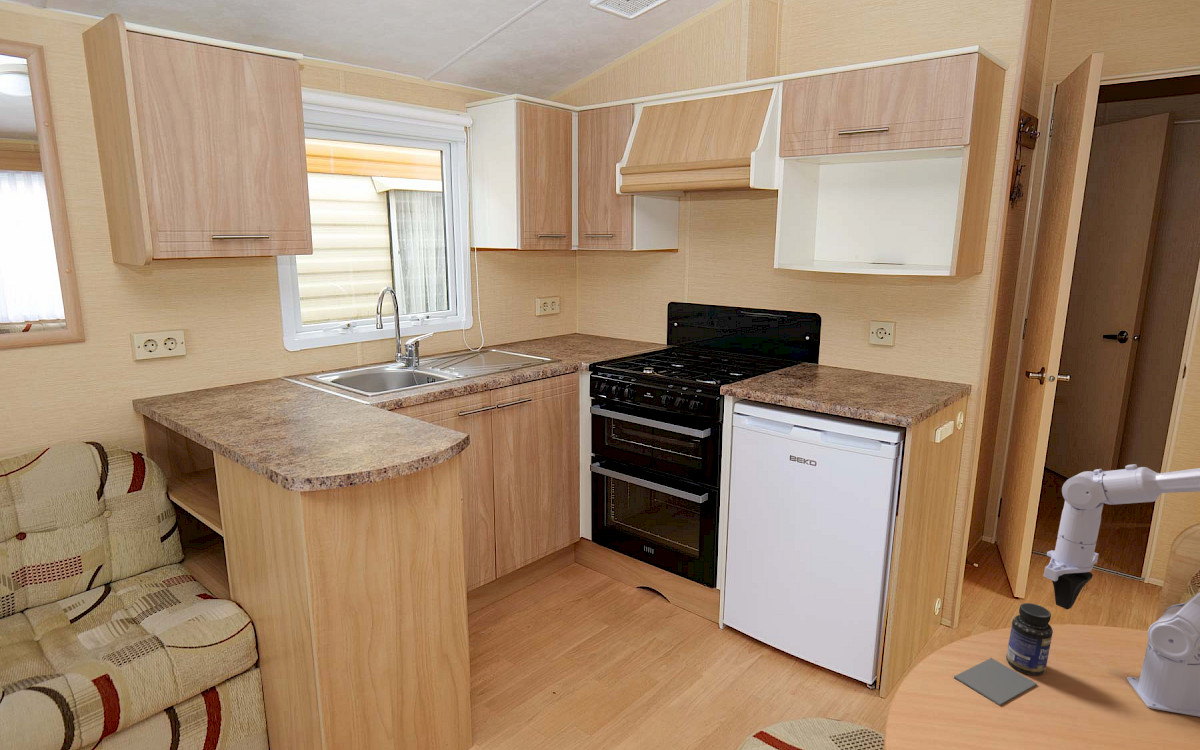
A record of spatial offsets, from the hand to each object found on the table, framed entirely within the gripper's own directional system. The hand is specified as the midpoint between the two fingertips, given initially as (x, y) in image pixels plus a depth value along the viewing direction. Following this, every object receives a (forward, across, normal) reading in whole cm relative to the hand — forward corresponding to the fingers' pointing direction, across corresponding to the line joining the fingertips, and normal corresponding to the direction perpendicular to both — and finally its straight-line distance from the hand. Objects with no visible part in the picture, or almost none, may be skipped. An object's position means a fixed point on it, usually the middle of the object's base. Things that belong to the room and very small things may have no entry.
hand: (1063, 606), depth 127 cm
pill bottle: (+9, +10, 0) cm, 14 cm away
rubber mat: (+9, +19, 0) cm, 21 cm away
